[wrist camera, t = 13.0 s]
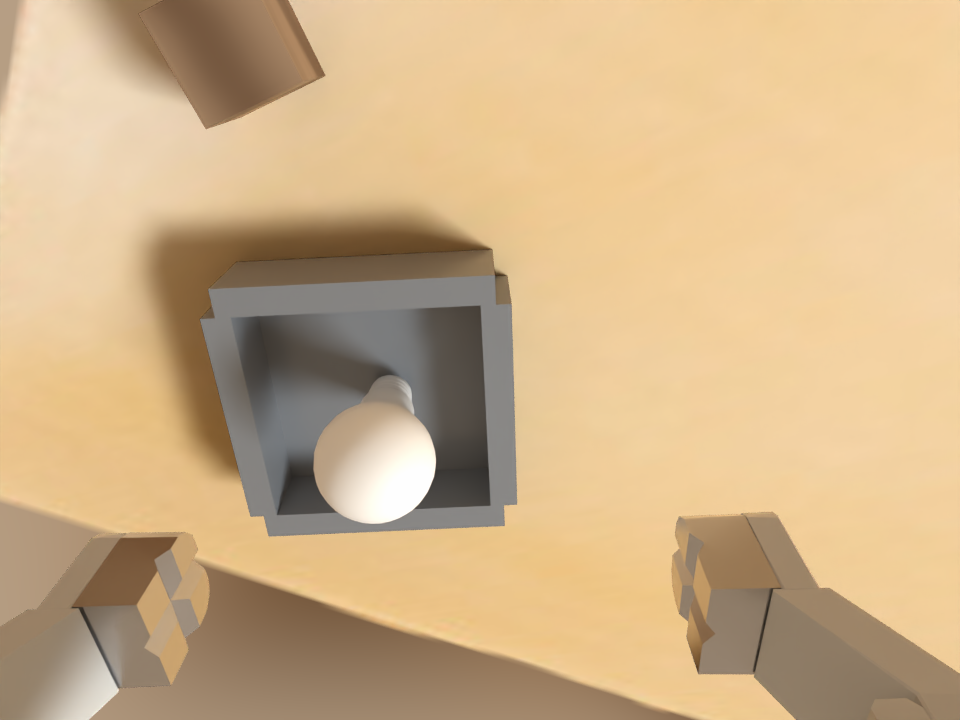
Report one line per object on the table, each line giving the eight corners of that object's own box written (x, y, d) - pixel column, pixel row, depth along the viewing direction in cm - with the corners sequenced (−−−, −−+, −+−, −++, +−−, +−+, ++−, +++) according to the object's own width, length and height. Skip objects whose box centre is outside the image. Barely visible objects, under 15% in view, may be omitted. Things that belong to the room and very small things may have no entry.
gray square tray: (506, 248, 37) (510, 274, 33) (513, 480, 44) (517, 525, 40) (222, 262, 37) (192, 289, 33) (275, 491, 44) (255, 537, 40)
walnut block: (273, -30, 31) (240, -42, 26) (325, 75, 33) (303, 81, 29) (185, 17, 32) (138, 13, 27) (241, 117, 34) (205, 129, 29)
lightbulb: (418, 442, 42) (402, 566, 32) (328, 407, 41) (282, 525, 31) (458, 365, 40) (453, 474, 30) (363, 326, 38) (327, 425, 29)
